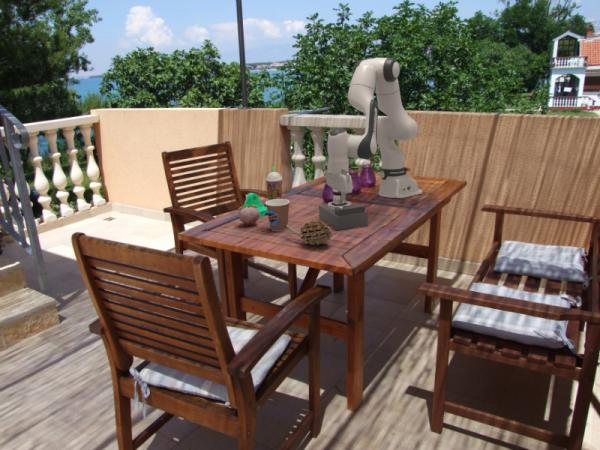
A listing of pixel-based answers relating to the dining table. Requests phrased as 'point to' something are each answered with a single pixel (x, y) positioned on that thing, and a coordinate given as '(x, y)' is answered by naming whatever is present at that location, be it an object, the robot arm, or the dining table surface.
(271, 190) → the smoothie
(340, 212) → the camera body
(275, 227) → the coffee cup
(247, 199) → the camera mount
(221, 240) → the dining table surface
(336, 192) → the lens
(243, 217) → the decorative fruit
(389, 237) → the dining table surface
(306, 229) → the pine cone
